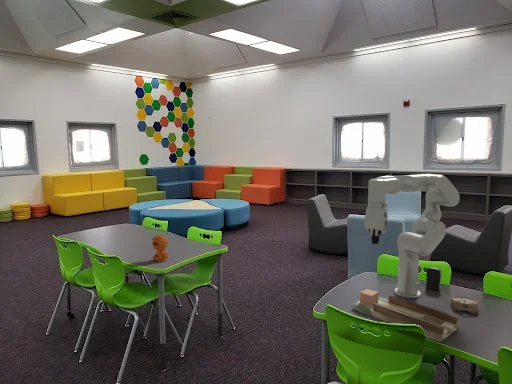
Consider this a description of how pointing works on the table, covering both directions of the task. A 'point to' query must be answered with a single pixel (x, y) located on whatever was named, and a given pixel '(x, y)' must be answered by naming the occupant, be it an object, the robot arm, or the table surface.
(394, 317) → the track
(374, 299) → the block
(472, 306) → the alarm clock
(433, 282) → the battery charger
